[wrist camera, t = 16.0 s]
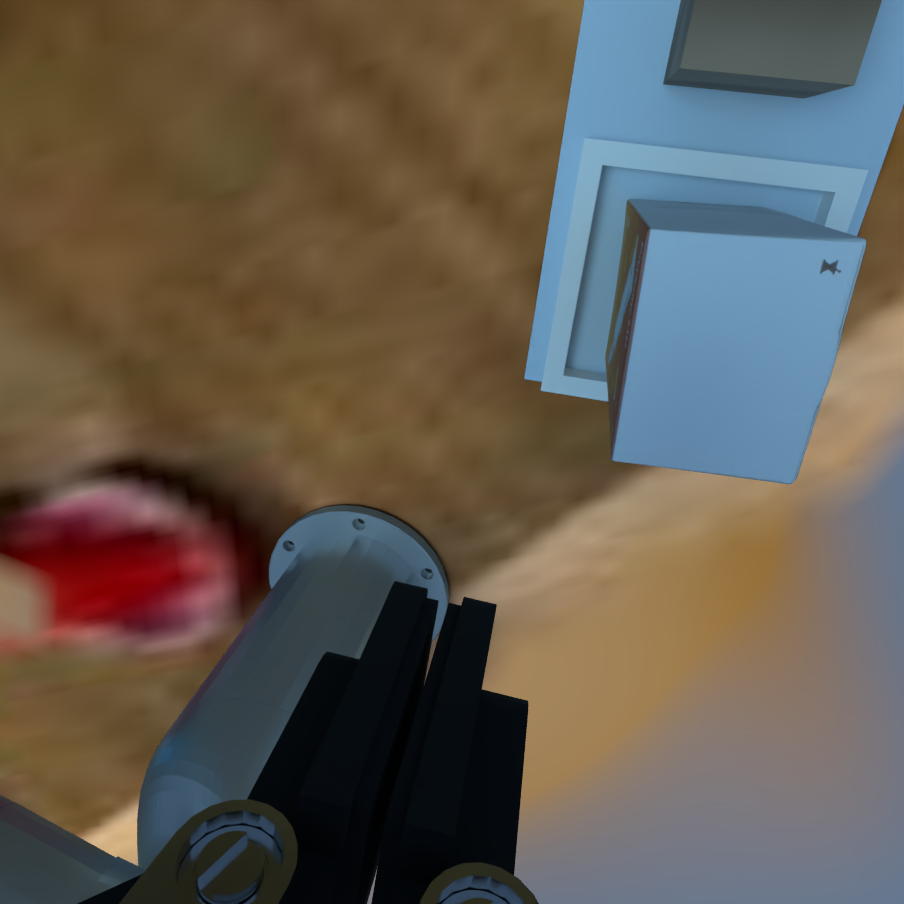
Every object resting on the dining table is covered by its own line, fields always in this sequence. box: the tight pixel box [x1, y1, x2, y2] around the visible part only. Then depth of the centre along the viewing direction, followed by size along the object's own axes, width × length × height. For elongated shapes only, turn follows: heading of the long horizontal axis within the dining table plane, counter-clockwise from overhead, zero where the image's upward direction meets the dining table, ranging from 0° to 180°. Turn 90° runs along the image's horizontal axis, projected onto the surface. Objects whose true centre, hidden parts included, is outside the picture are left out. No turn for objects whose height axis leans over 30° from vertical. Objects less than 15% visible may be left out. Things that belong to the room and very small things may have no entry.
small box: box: [605, 199, 866, 484], centre depth 27 cm, size 8×6×13 cm
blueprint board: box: [524, 0, 904, 401], centre depth 30 cm, size 22×14×3 cm, turn 175°
